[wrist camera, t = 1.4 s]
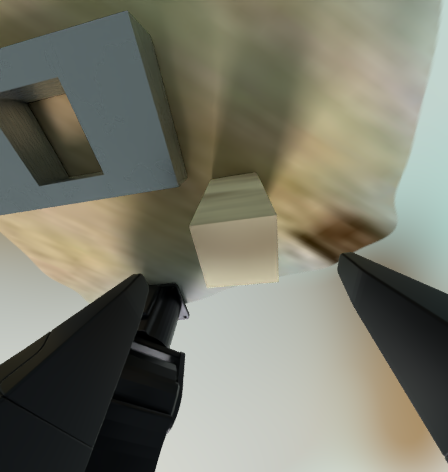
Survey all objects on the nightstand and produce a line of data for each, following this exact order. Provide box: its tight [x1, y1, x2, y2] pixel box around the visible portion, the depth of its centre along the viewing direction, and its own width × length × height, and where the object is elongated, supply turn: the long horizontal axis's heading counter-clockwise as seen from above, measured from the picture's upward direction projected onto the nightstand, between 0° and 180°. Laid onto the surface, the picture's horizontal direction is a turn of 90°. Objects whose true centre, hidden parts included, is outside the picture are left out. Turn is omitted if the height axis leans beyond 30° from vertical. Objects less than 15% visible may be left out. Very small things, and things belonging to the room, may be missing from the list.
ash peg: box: [189, 172, 279, 288], centre depth 13 cm, size 4×4×9 cm
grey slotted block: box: [0, 11, 188, 215], centre depth 14 cm, size 9×16×3 cm, turn 100°
